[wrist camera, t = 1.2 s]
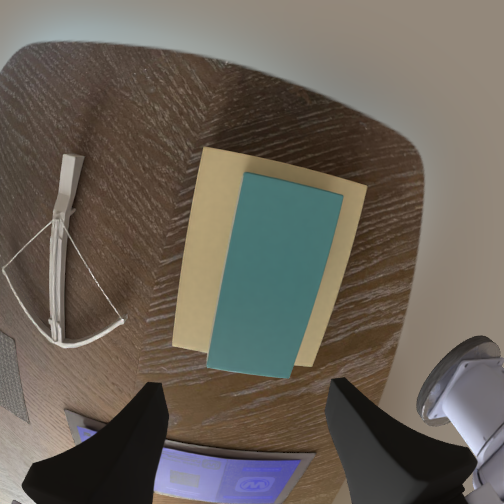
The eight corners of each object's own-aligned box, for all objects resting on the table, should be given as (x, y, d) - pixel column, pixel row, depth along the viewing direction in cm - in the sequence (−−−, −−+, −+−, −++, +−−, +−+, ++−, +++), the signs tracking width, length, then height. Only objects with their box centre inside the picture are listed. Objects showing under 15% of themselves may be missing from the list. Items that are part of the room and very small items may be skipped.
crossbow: (125, 360, 23) (118, 375, 21) (15, 311, 21) (4, 322, 19) (157, 174, 18) (148, 176, 16) (22, 142, 17) (6, 143, 15)
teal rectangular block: (327, 191, 17) (344, 195, 14) (282, 352, 19) (289, 379, 17) (242, 171, 16) (243, 170, 13) (209, 340, 19) (205, 367, 16)
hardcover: (352, 184, 19) (367, 185, 17) (305, 348, 22) (312, 366, 20) (207, 149, 18) (202, 146, 16) (177, 328, 21) (171, 345, 19)
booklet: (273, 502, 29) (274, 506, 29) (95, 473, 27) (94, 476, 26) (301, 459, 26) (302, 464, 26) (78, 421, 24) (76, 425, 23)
